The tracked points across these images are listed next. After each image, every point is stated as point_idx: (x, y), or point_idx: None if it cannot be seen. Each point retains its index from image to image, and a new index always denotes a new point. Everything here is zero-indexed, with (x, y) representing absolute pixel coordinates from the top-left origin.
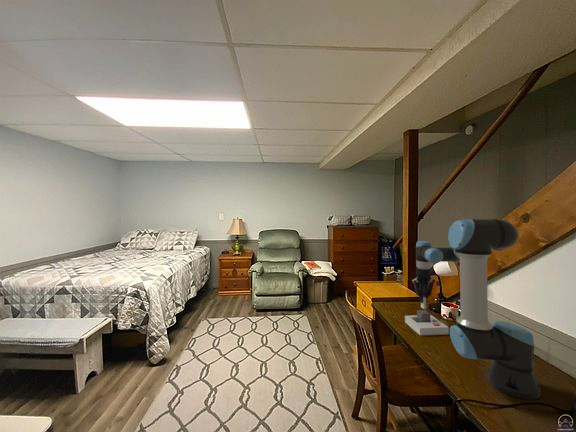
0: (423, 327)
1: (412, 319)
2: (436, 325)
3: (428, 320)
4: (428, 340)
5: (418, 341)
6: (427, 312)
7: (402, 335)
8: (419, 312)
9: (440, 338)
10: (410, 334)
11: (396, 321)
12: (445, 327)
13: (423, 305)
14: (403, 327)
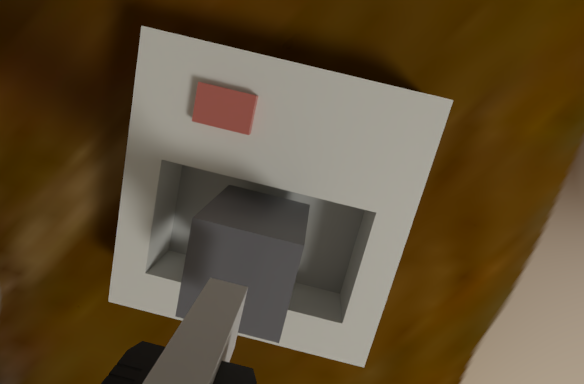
0: (403, 102)
1: (360, 282)
2: (238, 92)
3: (237, 199)
4: (427, 7)
5: (530, 19)
6: (201, 255)
7: (572, 154)
8: (291, 292)
9: (294, 6)
10: (488, 147)
11: (410, 363)
12: (176, 34)
13: (235, 318)
14: (440, 264)
